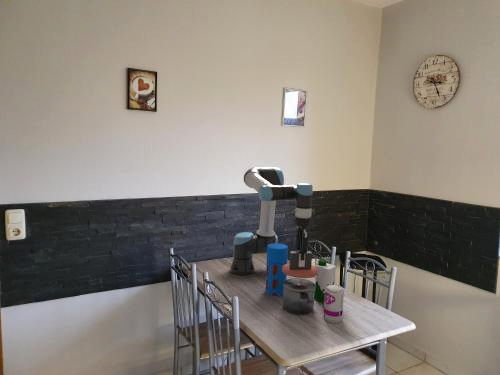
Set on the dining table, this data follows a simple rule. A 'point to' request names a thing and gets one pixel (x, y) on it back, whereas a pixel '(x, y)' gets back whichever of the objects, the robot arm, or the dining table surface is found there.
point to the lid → (300, 272)
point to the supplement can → (333, 303)
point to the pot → (298, 296)
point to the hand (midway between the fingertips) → (300, 265)
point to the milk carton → (323, 279)
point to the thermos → (275, 268)
